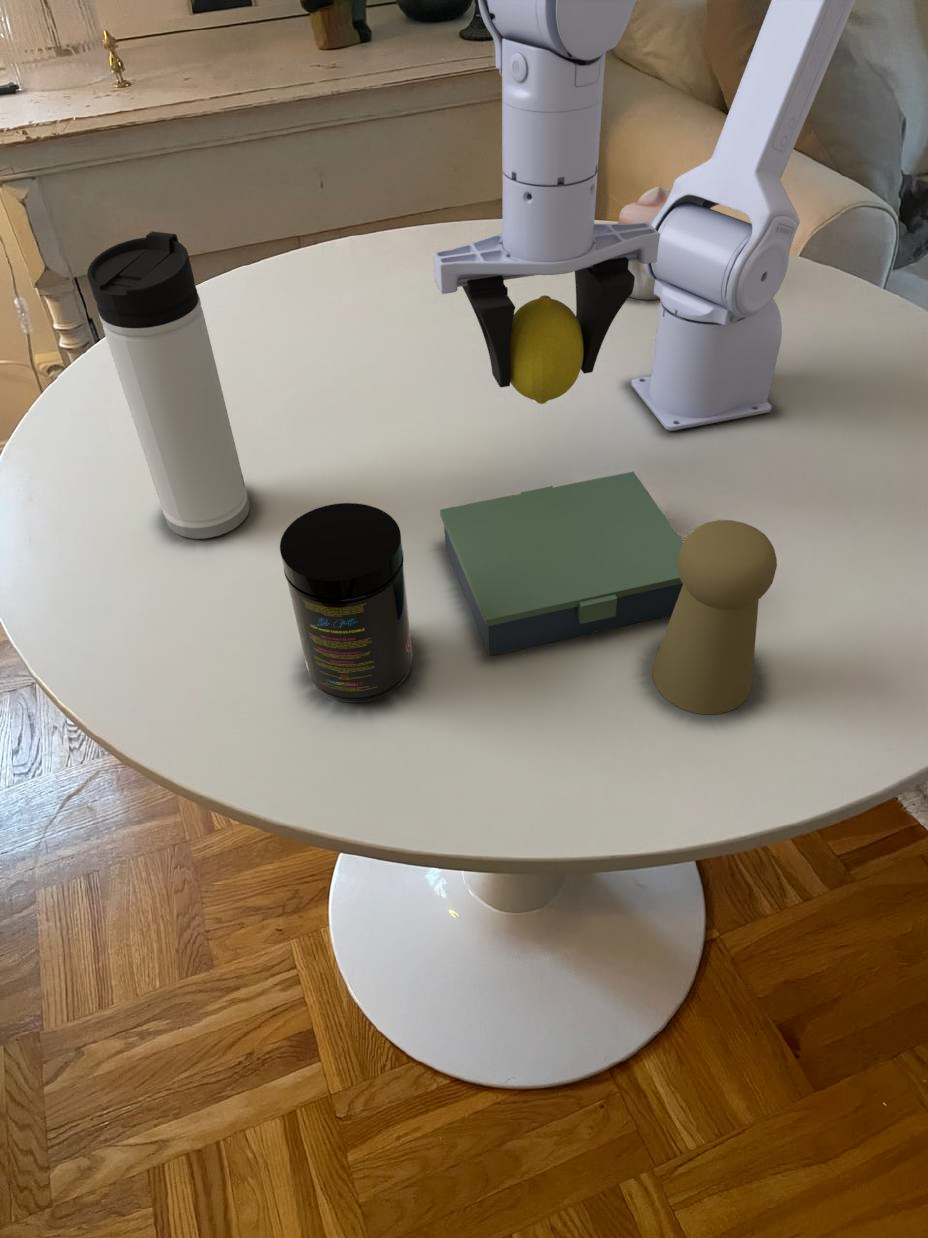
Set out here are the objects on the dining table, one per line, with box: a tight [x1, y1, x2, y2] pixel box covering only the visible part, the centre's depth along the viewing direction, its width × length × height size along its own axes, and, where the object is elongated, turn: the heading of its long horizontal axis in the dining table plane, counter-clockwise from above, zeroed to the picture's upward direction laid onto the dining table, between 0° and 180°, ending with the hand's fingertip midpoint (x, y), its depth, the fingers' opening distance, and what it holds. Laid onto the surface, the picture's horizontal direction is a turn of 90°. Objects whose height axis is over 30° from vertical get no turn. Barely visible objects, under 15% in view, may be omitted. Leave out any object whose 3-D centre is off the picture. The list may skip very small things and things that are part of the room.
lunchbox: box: [439, 471, 684, 656], centre depth 63 cm, size 14×12×4 cm
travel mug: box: [86, 230, 251, 540], centre depth 63 cm, size 6×7×20 cm
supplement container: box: [279, 502, 413, 703], centre depth 55 cm, size 7×7×10 cm
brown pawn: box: [651, 519, 778, 715], centre depth 53 cm, size 6×6×11 cm
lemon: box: [510, 295, 584, 405], centre depth 64 cm, size 6×6×8 cm
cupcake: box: [617, 186, 671, 300], centre depth 91 cm, size 9×9×10 cm
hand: (543, 372), depth 65 cm, fingers closed on lemon, 5 cm apart
